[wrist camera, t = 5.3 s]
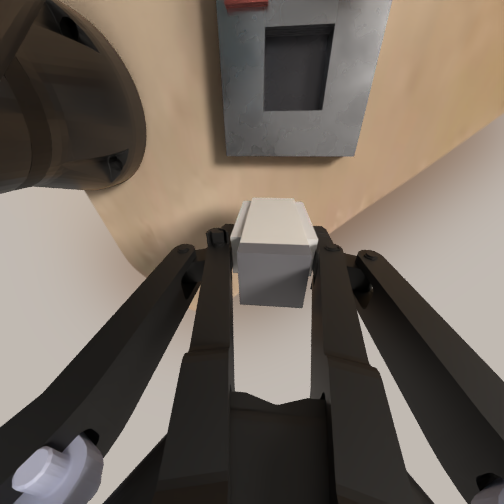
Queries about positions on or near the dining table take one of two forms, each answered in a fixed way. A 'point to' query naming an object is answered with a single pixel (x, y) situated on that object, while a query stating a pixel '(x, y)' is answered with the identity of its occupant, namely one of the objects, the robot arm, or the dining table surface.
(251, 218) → the plug
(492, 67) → the dining table surface
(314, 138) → the socket plate
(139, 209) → the dining table surface
